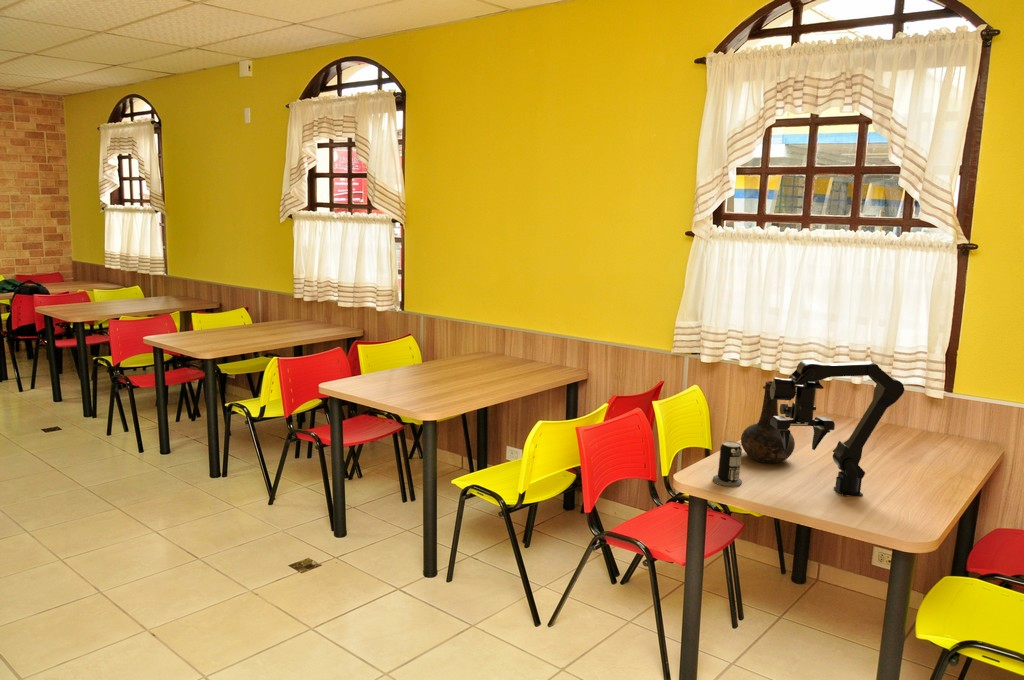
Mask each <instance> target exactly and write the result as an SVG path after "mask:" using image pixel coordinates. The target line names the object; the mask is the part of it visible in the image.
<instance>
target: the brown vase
mask: <svg viewBox="0 0 1024 680" xmlns="http://www.w3.org/2000/svg"><path fill="white" fill-rule="evenodd" d="M772 382H773V380H769V381H768V380H767V381H765V385H763V386H762V389H764V395H763V401H762V407H761V408H762V409H761V412H760V416H759V420H758V422H757V423H754V424H751V425H749V426H746V428H745V429H744V430H743V432H742V433H741V437H740V444H741V448H742V450H743V451H744V452H745V453H746V455H747V456H748V457H749V458H751V459H753V460H754V461H756V462H760V463H767V464H777V463H781V462H784V461H786V460H787V459H788V458H789V457H791V455H792V454H793V452H794V451H795V446H796V445H795V444H796V443H795V438H794V436H793V434H792V433H791V432H790V437H789V443H788V447H787V450H785V449H784V446H783V442H782V438H781V435H780V433H779V431H778V430H777V429H776V428H774V427H773V426H772V425H770V419H771V418H772V417H773V416H779V410H778V409H779V408H778V407H779V403H778V400H774V399H771V397H770V386H771V384H772Z"/></svg>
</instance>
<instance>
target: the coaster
mask: <svg viewBox="0 0 1024 680" xmlns="http://www.w3.org/2000/svg"><path fill="white" fill-rule="evenodd" d="M713 481H714V482H716V483H718V484H721V485H725V486H724V487H726V486H738V487H740V485H741V484H742V485H743V480H742V479H741V478H739V479H738V480H737V481H736V482H732V483H730V482H724V481H722V480H720V479H719V477H718V474H716V475H714V476H713V477H712V482H713ZM714 482H713V483H714ZM716 483H715V484H716ZM718 484H717V485H718ZM721 485H720V486H721ZM742 485H741V486H742Z"/></svg>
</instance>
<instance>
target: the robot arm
mask: <svg viewBox="0 0 1024 680" xmlns="http://www.w3.org/2000/svg"><path fill="white" fill-rule="evenodd" d="M862 376H863V377H868V378H870V379H871V380H872V381H873V382H874V383H875V387H874V389H873V395H872V401H871V402H870V404H869V406H868V407H867V409H866V410H865V412H864V414H863V415H862V416H861V419H859V421H858V423H857V425H856V427H855V428H854V430H853V431H852V433H851V434H850V436H849V438H848V439H847V440H845V441H844V442H843V441H841V440H839V441H838V442H837V445H836V447H835V448H834V449H833V450H832V452H833V454H832V459H833V462H834V463H835V464H836V465H837V468H838V469H839V470H840V471H838V473H837V476H836V478H835V479H836V480H835V486H833V490H835V491H837V492H838V493H839V494H841V495H842V496H845V497H851V496H853V497H855V496H856V497H858V496H859V497H863V495H864V494H863V493H862V492H861V488H862V481H863V479H864V477H865V475H866V472H865V471H864V469H863V468H862V467H861V466H860V462H861V460H862V454H863V449H864V446H865V445H866V443H867V442H868V440H869V438H870V437H871V435H872V433H873V432H874V430H875V429H876V427H877V425H878V423H879V422H880V421H881V419H882V417H883V415H884V414H885V412H886V411H887V409H888V408H890V407H891V406H893V405H894V404H895V403H897V402H898V401H899V399H900V398H901V397H902V396H903V395H904V393H905V387H904V384H903V382H901V381H900V380H898V379H896V378H894V377H892V376H890V375H888V374H887V373H886V372H885V371H884V370H883V369H881V368H880V367H879V365H878V364H877V363H874V362H873V361H870V360H866V361H859V362H858V361H857V362H855V361H854V362H853V361H852V362H835V363H833V362H832V363H831V362H830V363H828V362H822V361H816V360H811V359H809V360H808V359H804V360H801V361H800V362H799V363H798V364H797V365H796V369H795V370H794V371H793V372H792V373H791V374H790V375H789V377H788V378H779V377H773V379H772V381H773V382H772V384H771V386H770V397H771V399H774V400H779V401H792V400H794V401H793V402H792V404H791V406H789V404H788V403H780V406H779V414H780V415H781V416H780V415H778V416H773V417H772V418H771V419H770V425H772V426H773V427H774V428H776V429H777V430H778V431H779V433H780V435H781V438H782V442H783V446H784V449H785V450H787V447H788V443H789V437H790V433H791V430H790V428H791V427H812V428H813V429H812V430H813V435H812V436H813V437H812V443H811V450H813V451H815V450H816V449H817V448H818V446H819V444H820V443H821V441H822V440H823V439H824V437H825V436H826V435H827V434H829V433H831V431H834V430H835V428H836V423H835V421H834V420H832V419H831V418H829V417H827V416H816V417H814V411H817V406H815V402H816V393H817V392H816V391H817V389H818V390H823V389H824V388H825V387H824V385H822V384H821V382H820V381H823V380H825V379H827V378H833V377H834V378H836V377H837V378H838V377H841V378H842V377H862ZM782 415H785V416H782ZM788 418H790V419H788Z"/></svg>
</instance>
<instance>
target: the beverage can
mask: <svg viewBox="0 0 1024 680" xmlns="http://www.w3.org/2000/svg"><path fill="white" fill-rule="evenodd" d="M742 450H743V448H742V445H741V442H737V441H731V440H724V441H722V444H721V445H720V449H719V459H718V470H717V475H718V477H719V479H720V480H722V481H724V482H730V483H732V482H736V481H737V480H738V479H740V473H741V472H740V470H741V461H742V454H743V453H742V452H743V451H742Z"/></svg>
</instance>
